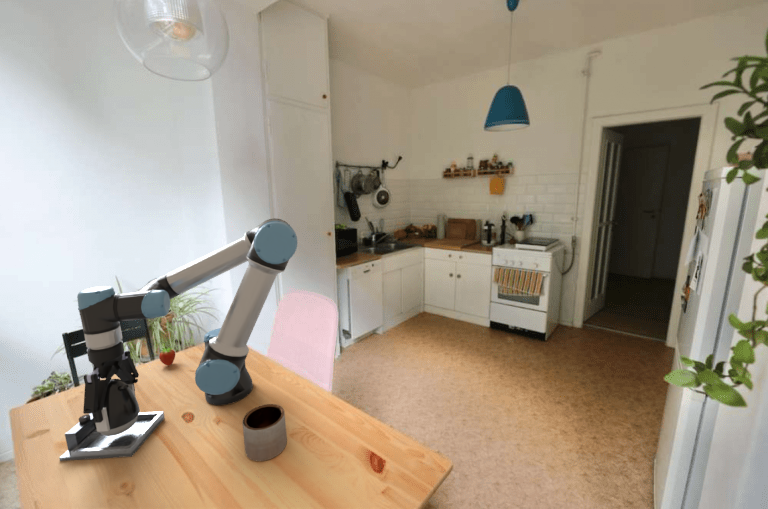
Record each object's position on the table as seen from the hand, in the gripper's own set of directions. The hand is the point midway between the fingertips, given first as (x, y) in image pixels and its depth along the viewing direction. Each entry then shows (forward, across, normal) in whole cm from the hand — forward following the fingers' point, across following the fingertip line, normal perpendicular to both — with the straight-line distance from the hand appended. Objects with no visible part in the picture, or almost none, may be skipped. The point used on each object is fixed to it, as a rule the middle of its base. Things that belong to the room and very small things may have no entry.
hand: (118, 416), depth 93 cm
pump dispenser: (+4, 0, 0) cm, 4 cm away
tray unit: (+7, 0, -2) cm, 7 cm away
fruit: (+7, -41, -10) cm, 43 cm away
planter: (+7, +7, +42) cm, 44 cm away
